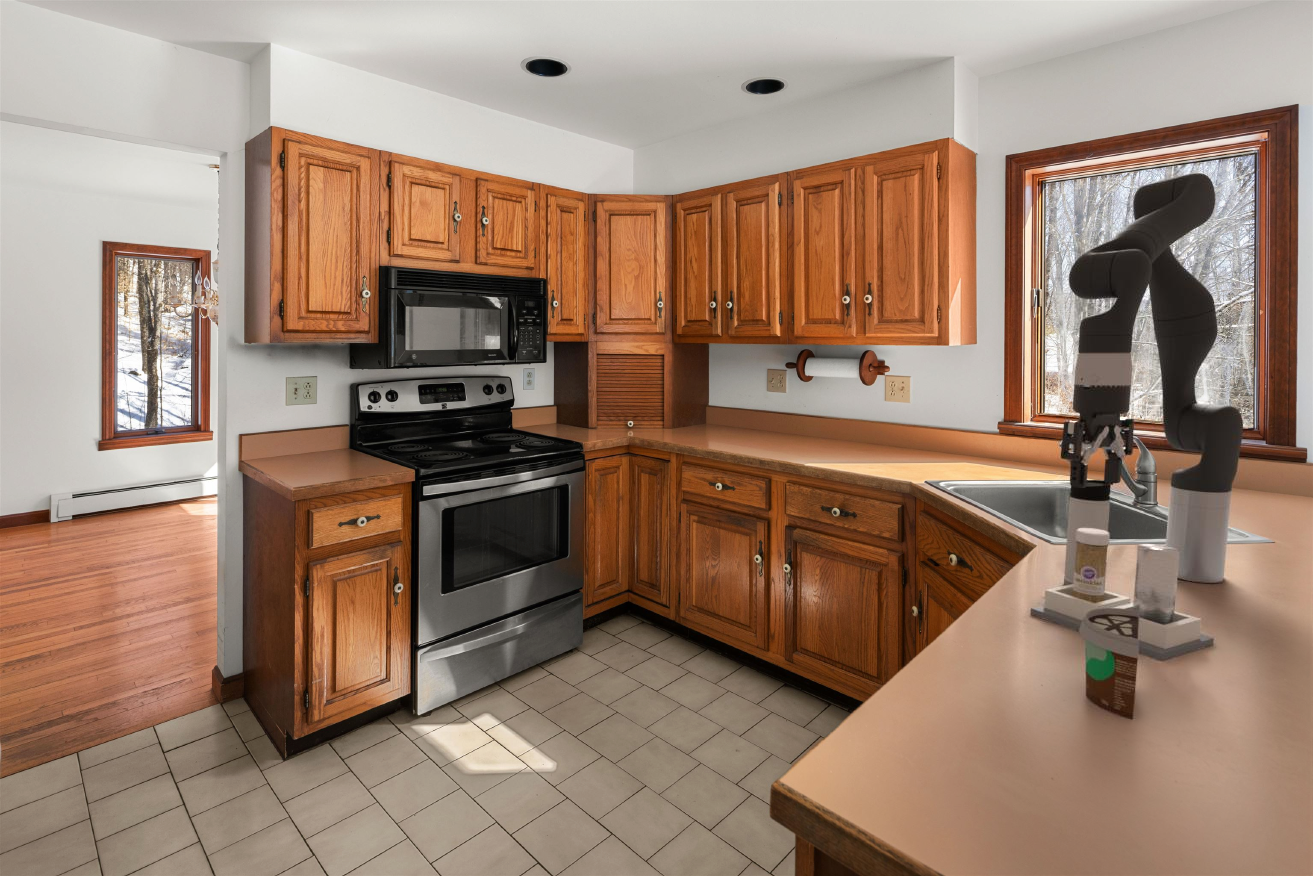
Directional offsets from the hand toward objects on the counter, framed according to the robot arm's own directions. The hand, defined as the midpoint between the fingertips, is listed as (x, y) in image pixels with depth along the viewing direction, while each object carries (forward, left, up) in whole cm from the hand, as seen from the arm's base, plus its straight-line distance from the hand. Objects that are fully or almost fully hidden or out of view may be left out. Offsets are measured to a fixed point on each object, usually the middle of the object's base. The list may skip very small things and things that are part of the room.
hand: (1095, 484), depth 112 cm
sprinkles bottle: (0, 0, -21) cm, 21 cm away
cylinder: (0, +10, -22) cm, 24 cm away
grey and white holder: (0, +5, -22) cm, 22 cm away
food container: (+24, +18, -22) cm, 37 cm away
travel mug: (-15, -10, -22) cm, 28 cm away
